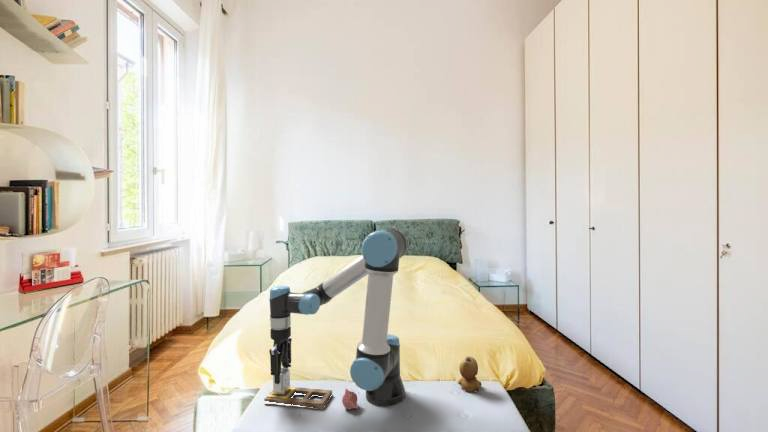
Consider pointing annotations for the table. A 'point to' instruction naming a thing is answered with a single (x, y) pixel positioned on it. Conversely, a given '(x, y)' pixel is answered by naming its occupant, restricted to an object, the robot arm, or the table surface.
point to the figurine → (469, 375)
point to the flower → (349, 400)
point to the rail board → (305, 400)
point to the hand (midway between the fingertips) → (281, 387)
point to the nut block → (283, 383)
